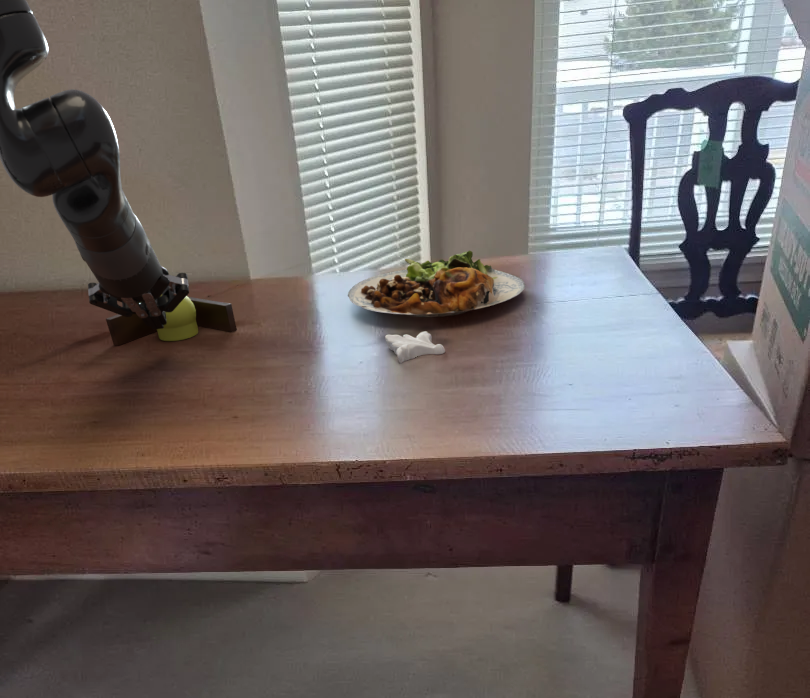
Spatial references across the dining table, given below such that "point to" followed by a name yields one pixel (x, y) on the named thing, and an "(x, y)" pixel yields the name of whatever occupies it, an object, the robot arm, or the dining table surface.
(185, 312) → the pear
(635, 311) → the dining table surface
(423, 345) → the acanthus leaf ornament
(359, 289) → the plate of food
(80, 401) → the dining table surface
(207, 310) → the corner fence
